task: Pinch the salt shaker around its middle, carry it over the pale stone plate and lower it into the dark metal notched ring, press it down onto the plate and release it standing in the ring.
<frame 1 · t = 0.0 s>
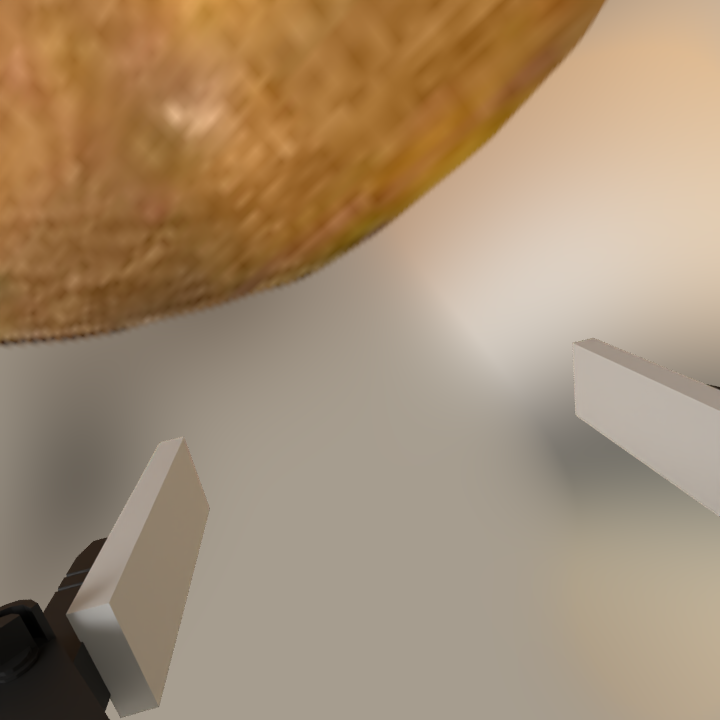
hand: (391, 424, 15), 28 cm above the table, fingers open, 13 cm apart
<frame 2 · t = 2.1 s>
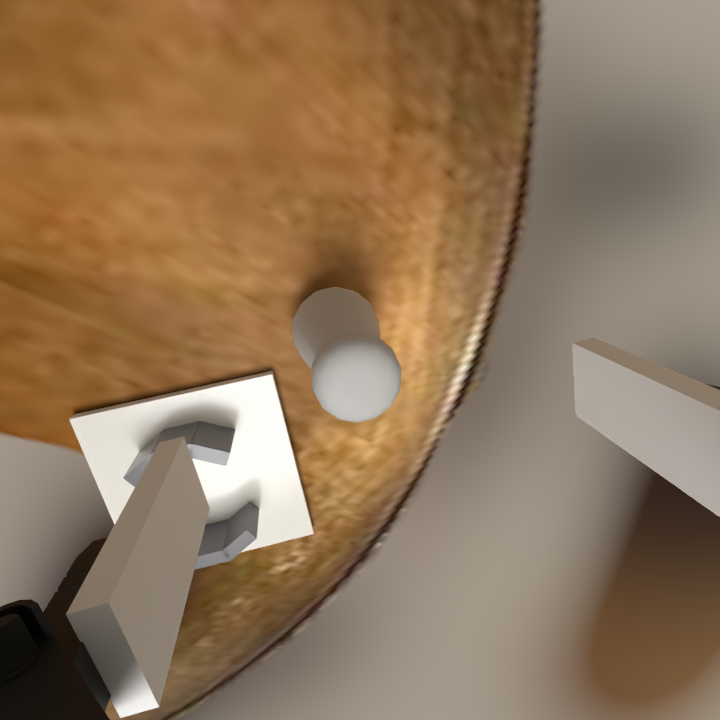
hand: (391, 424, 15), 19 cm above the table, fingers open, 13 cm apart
salt shaker: (332, 321, 34), on the table
ring socket: (203, 475, 35), on the table
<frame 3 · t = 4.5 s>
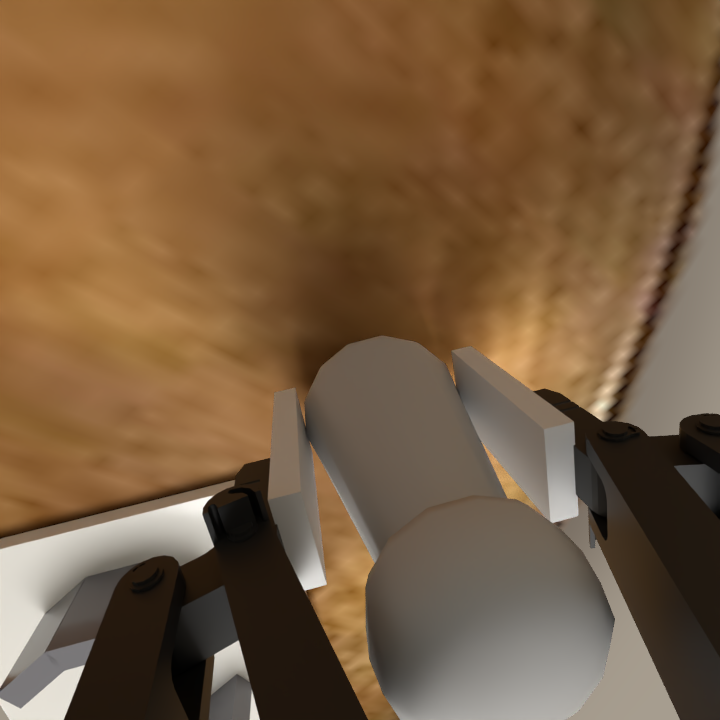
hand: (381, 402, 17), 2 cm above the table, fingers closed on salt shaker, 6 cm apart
salt shaker: (371, 388, 20), on the table, touching gripper
ring socket: (159, 635, 22), on the table
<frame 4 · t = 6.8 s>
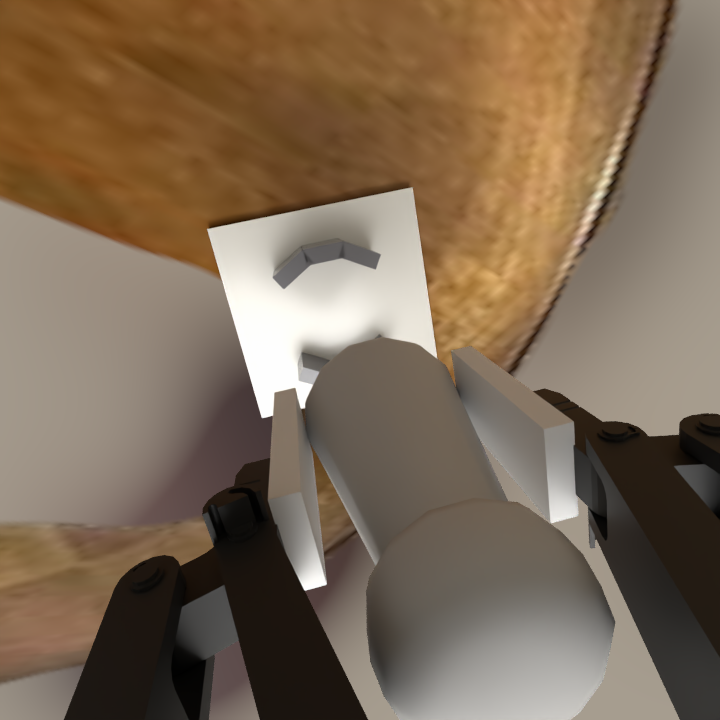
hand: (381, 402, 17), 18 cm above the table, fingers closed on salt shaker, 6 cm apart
salt shaker: (371, 389, 20), point 16 cm above the table, touching gripper
ring socket: (332, 306, 34), on the table
when the fingers open (3 cm above the table, at t = 9.5 s): salt shaker stays where it is, resting on ring socket.
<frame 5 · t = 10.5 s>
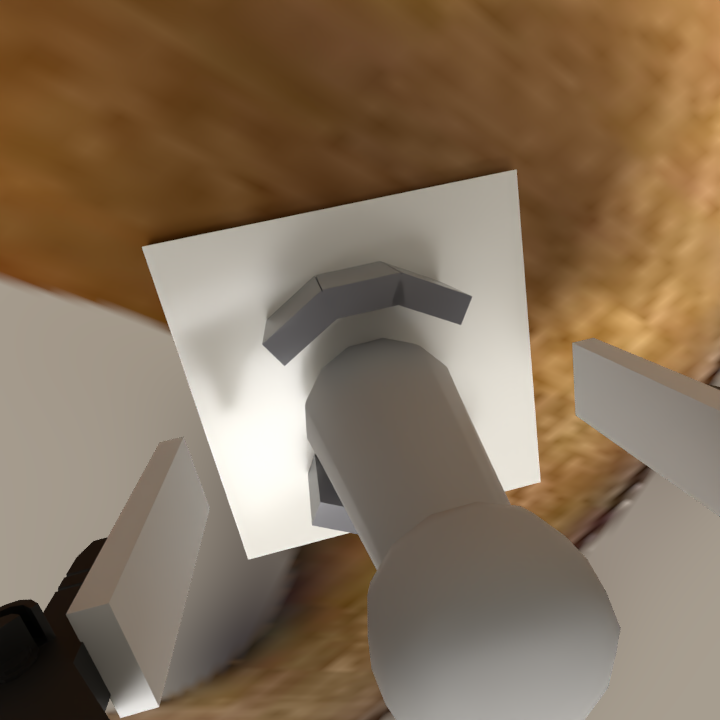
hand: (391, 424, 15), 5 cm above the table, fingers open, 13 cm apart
salt shaker: (371, 390, 20), point 1 cm above the table, touching ring socket
ring socket: (367, 375, 20), on the table
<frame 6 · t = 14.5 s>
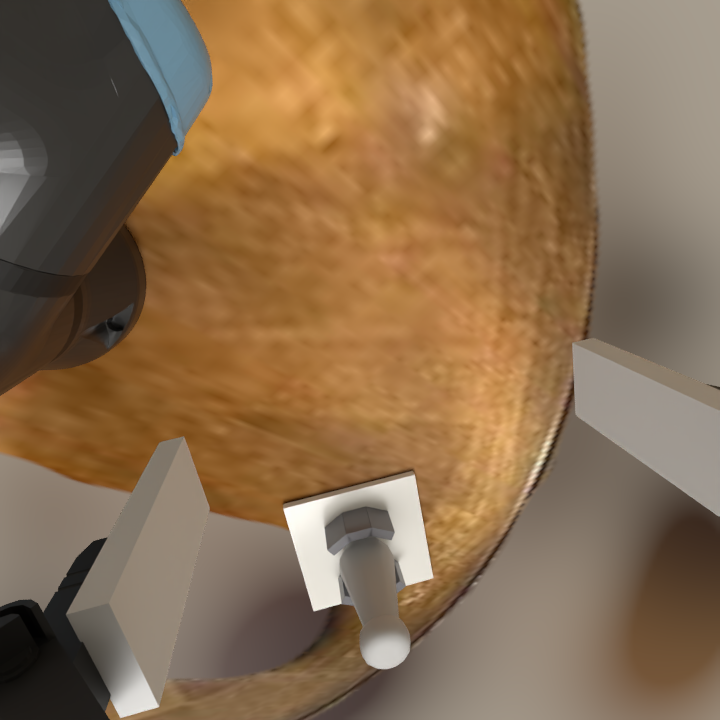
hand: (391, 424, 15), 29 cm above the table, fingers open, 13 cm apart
salt shaker: (363, 547, 51), point 1 cm above the table, touching ring socket
ring socket: (361, 540, 51), on the table
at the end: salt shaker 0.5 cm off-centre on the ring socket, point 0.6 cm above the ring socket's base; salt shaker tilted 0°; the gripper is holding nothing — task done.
